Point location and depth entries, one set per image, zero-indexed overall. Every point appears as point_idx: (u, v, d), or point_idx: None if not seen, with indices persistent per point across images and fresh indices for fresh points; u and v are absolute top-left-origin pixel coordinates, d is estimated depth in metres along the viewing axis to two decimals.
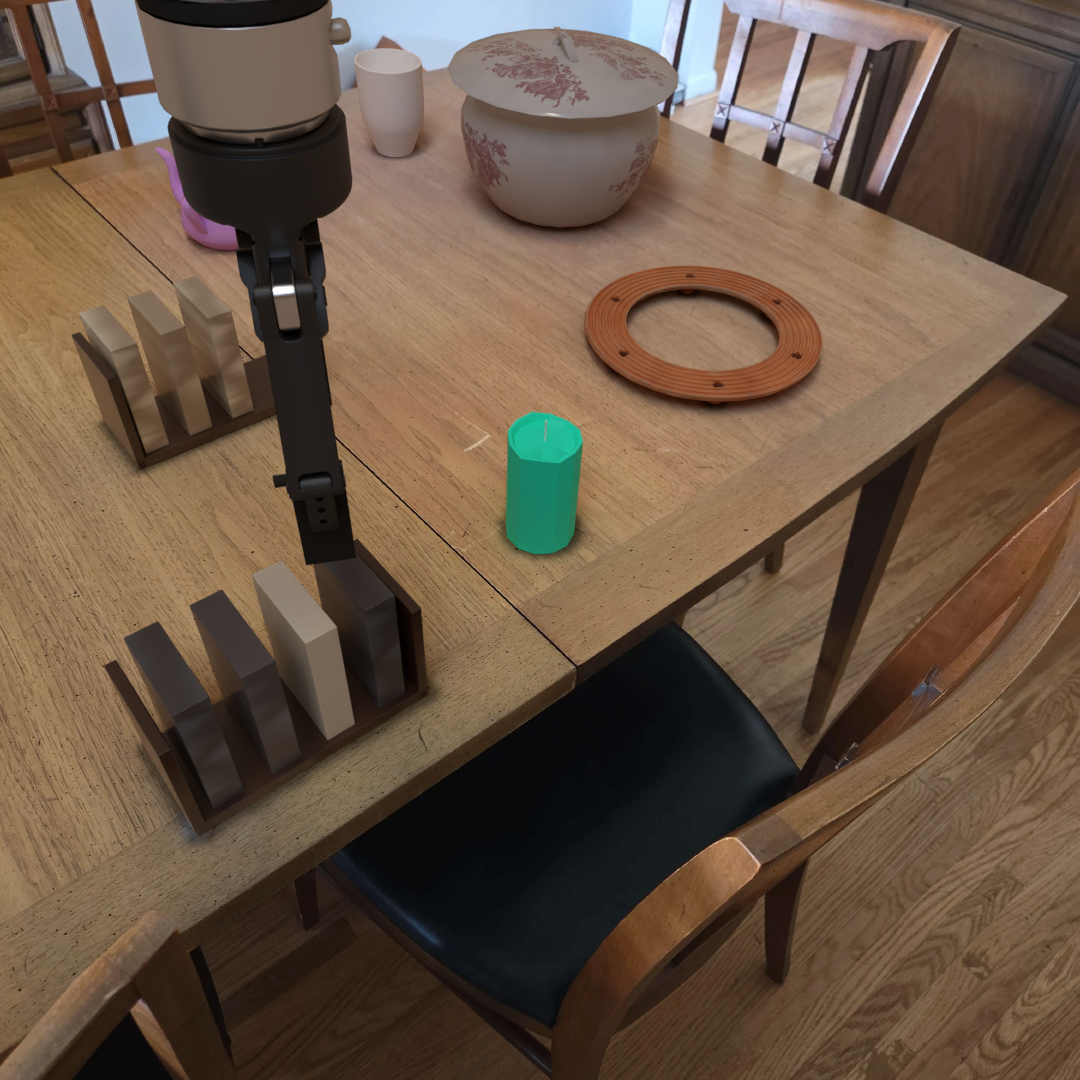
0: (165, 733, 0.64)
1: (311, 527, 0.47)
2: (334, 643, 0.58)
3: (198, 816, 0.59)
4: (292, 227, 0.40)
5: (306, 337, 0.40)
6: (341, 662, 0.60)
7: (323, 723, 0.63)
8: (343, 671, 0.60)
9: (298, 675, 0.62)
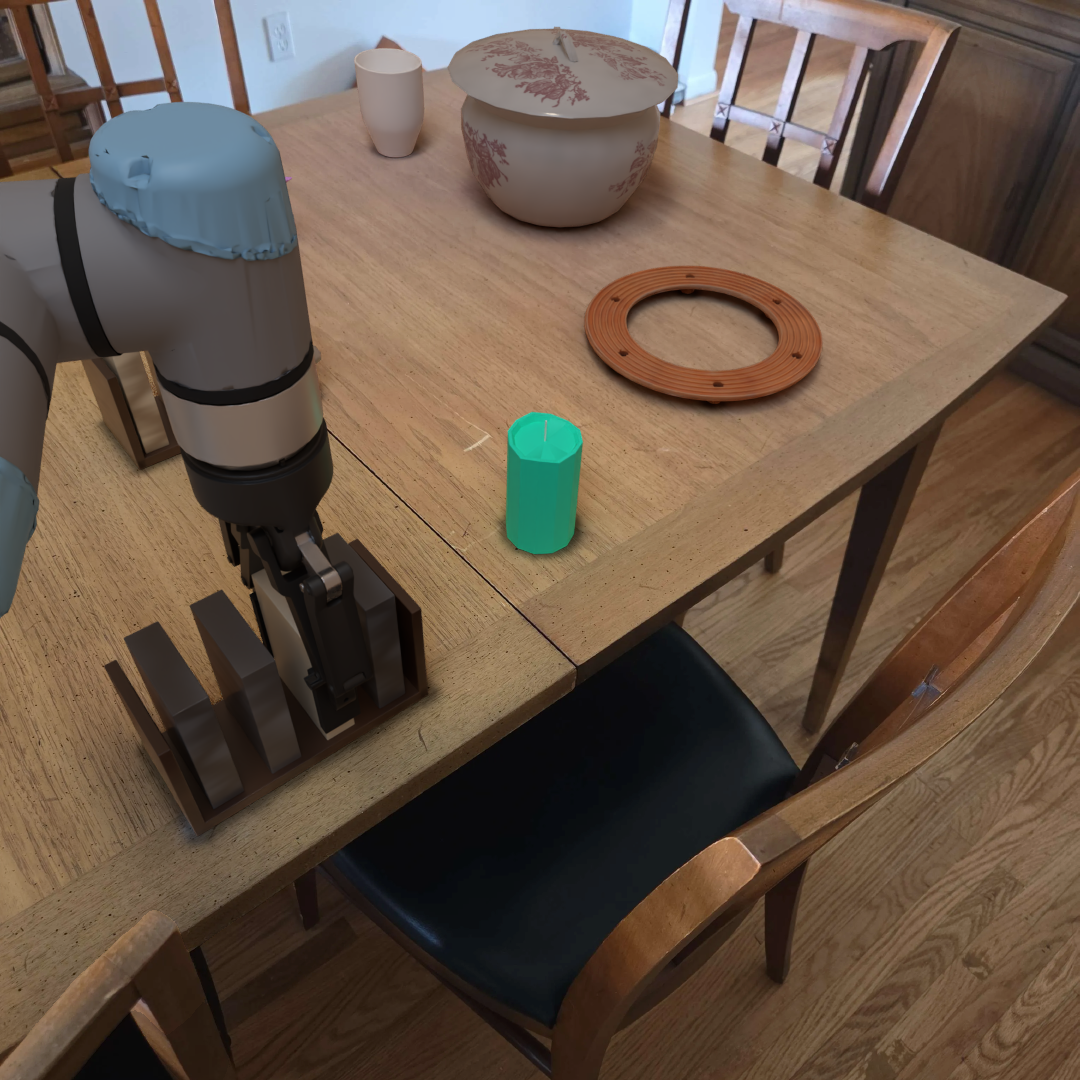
0: (165, 733, 0.64)
1: (337, 707, 0.59)
2: None
3: (198, 816, 0.59)
4: (310, 510, 0.49)
5: (344, 599, 0.51)
6: None
7: None
8: None
9: (298, 675, 0.62)
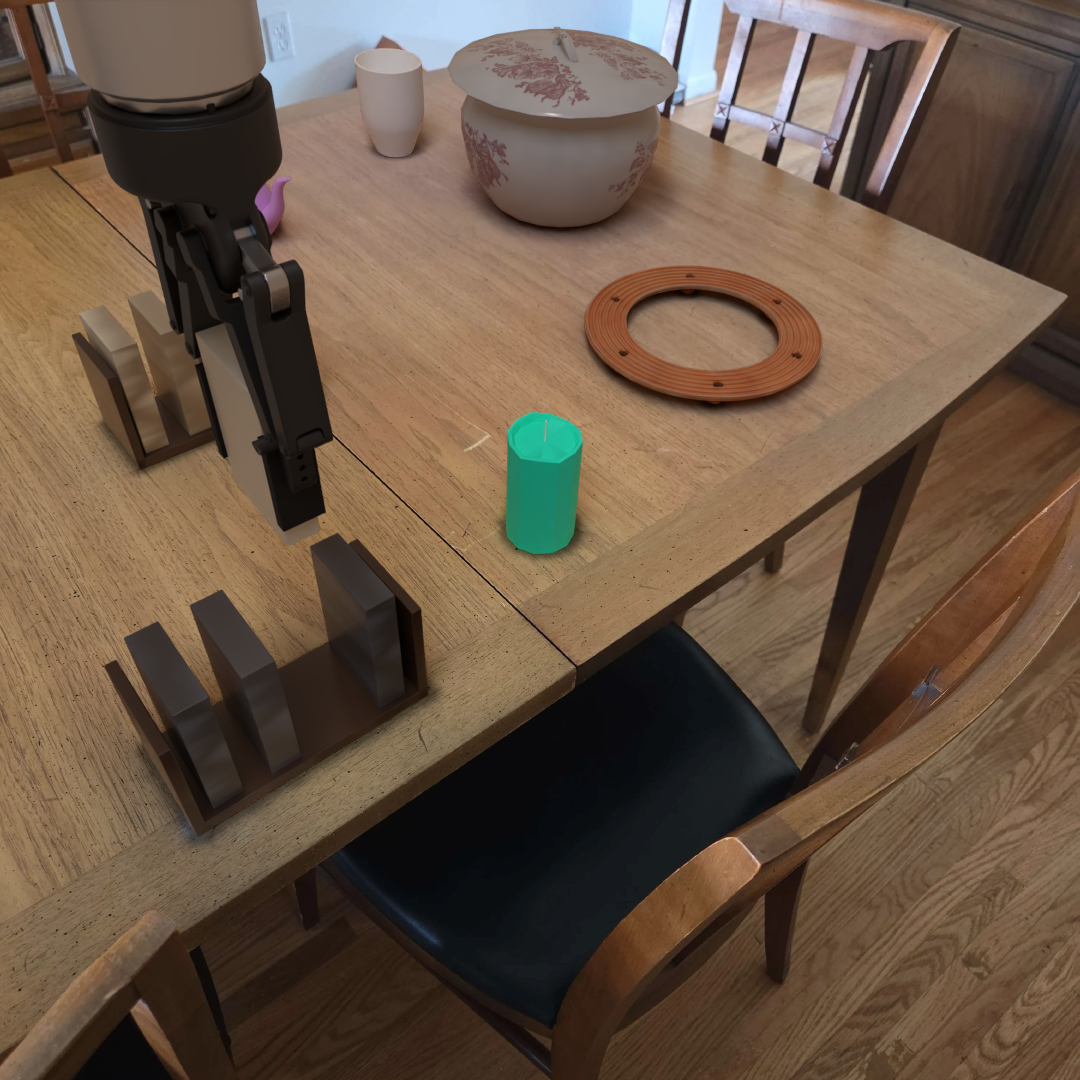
0: (165, 733, 0.64)
1: (294, 487, 0.49)
2: None
3: (198, 816, 0.59)
4: (250, 192, 0.40)
5: (294, 314, 0.42)
6: None
7: None
8: None
9: (252, 462, 0.53)
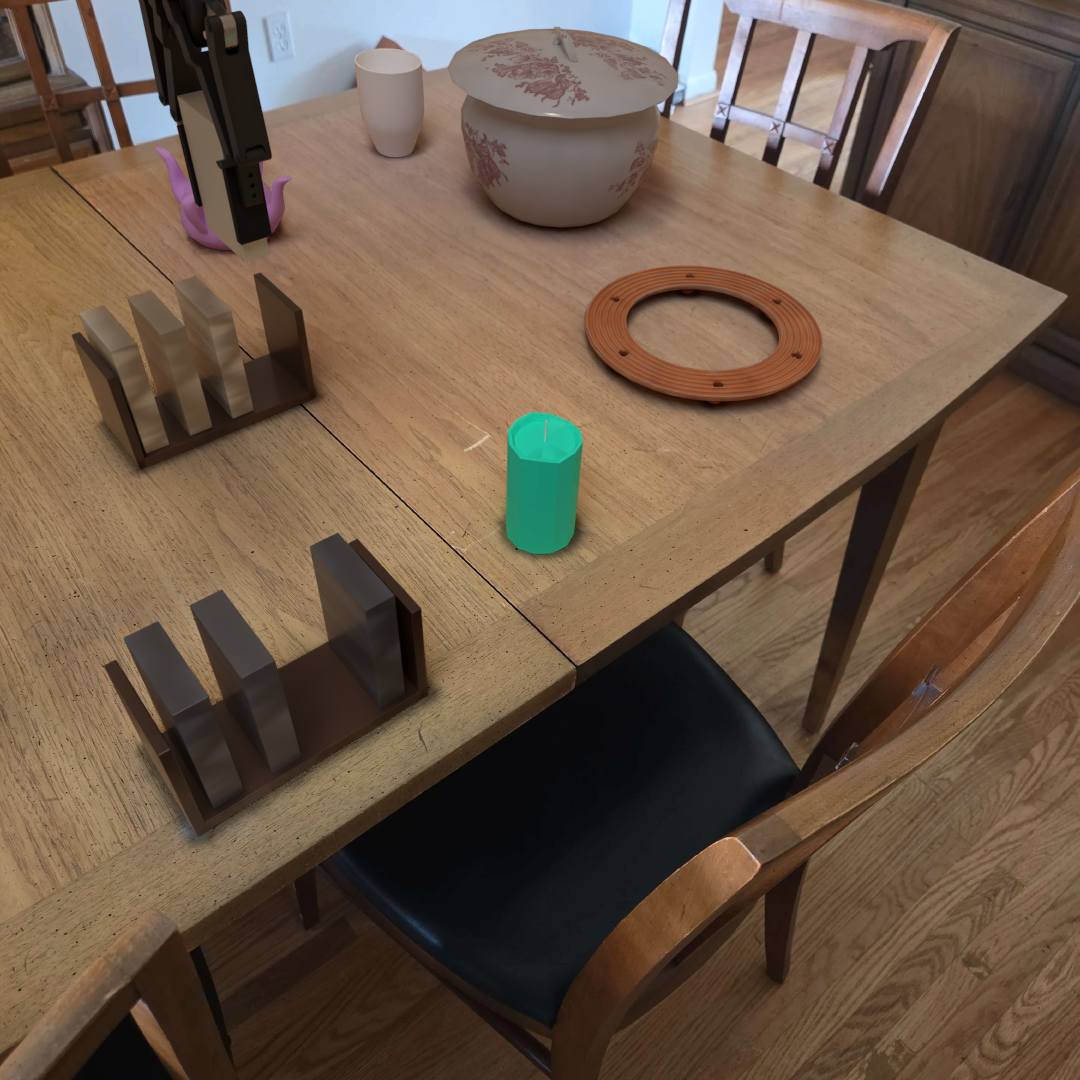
0: (165, 733, 0.64)
1: (247, 201, 0.71)
2: None
3: (198, 816, 0.59)
4: None
5: (241, 52, 0.63)
6: None
7: None
8: None
9: (218, 195, 0.74)
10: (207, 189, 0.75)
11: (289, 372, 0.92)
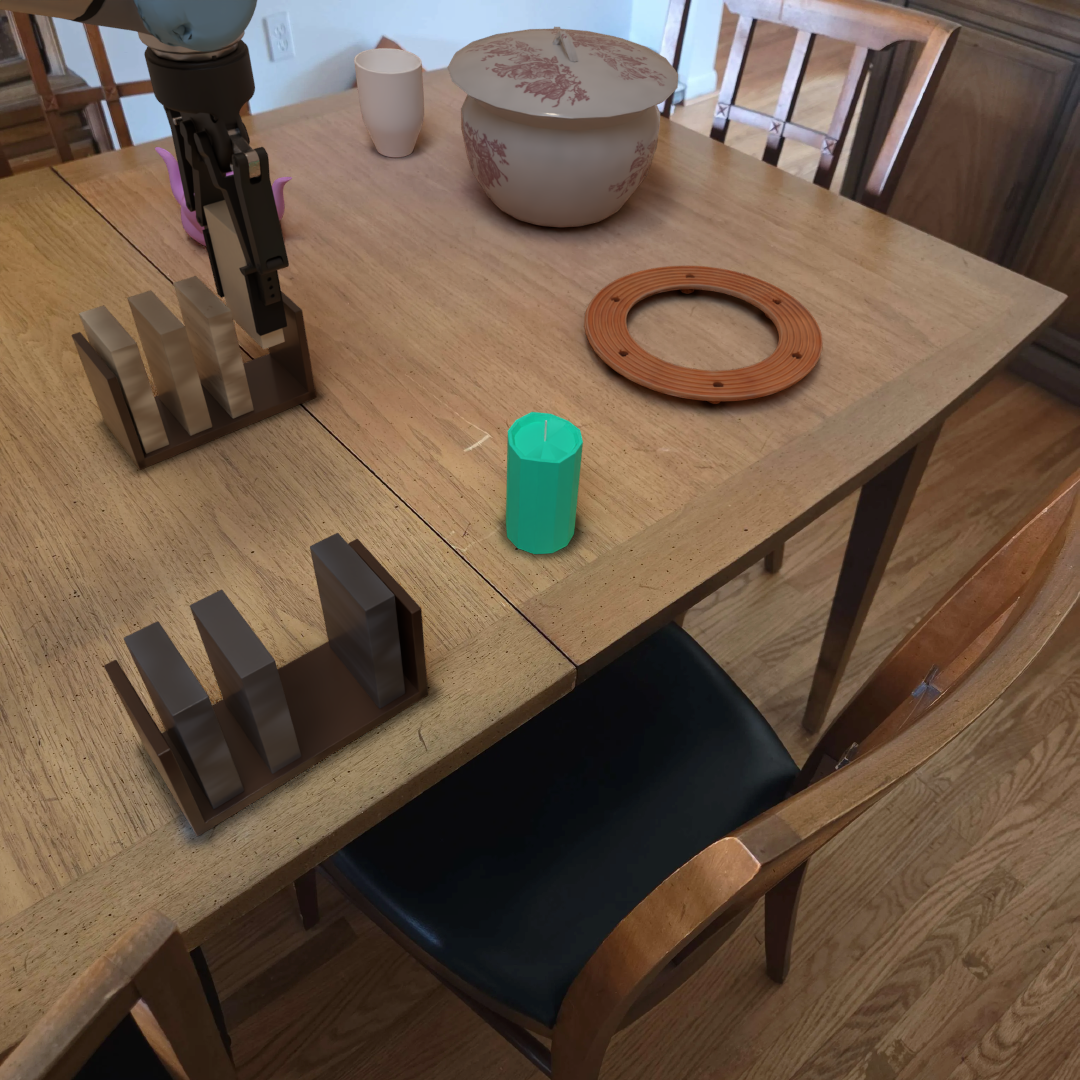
0: (165, 733, 0.64)
1: (266, 300, 0.80)
2: None
3: (198, 816, 0.59)
4: (236, 107, 0.70)
5: (263, 180, 0.72)
6: None
7: None
8: None
9: (240, 291, 0.83)
10: (229, 284, 0.84)
11: (289, 372, 0.92)
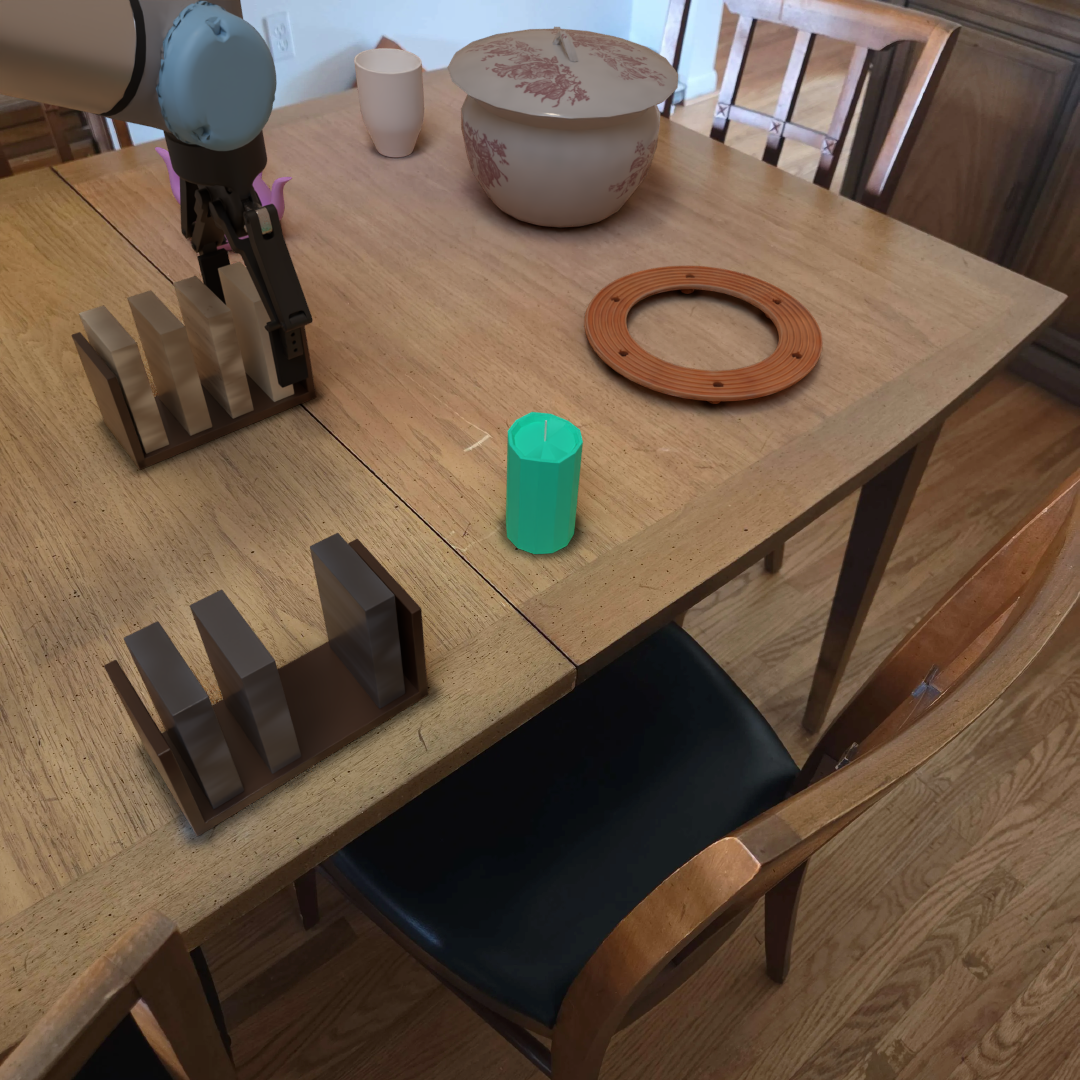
0: (165, 733, 0.64)
1: (289, 355, 0.81)
2: None
3: (198, 816, 0.59)
4: (250, 179, 0.74)
5: (276, 236, 0.75)
6: None
7: (270, 384, 0.88)
8: None
9: (252, 348, 0.87)
10: (241, 340, 0.89)
11: None
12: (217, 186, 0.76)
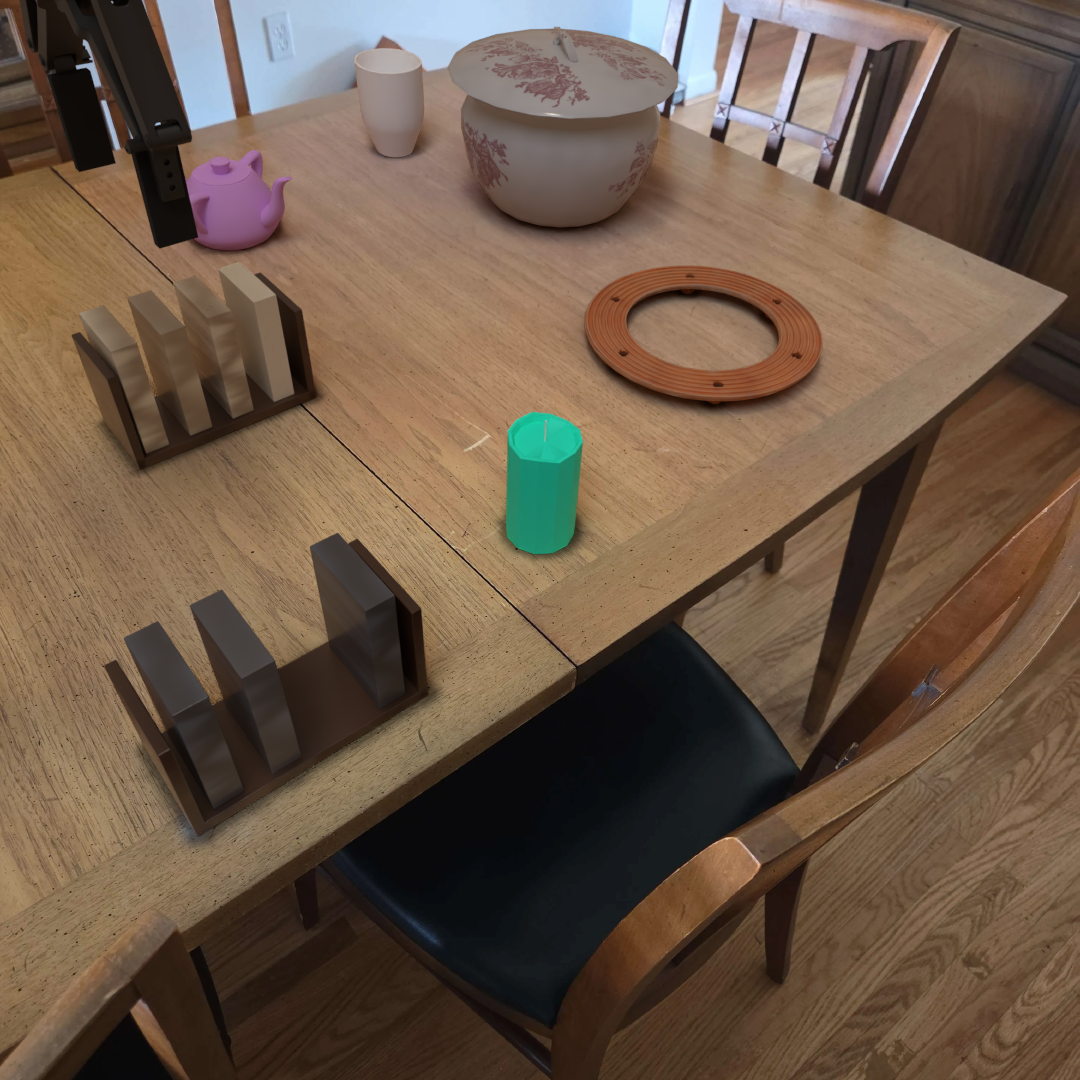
0: (165, 733, 0.64)
1: (163, 194, 0.58)
2: (274, 309, 0.83)
3: (198, 816, 0.59)
4: None
5: (132, 2, 0.52)
6: (281, 329, 0.85)
7: (270, 384, 0.88)
8: (283, 338, 0.86)
9: (252, 348, 0.87)
10: (241, 340, 0.89)
11: None
12: None
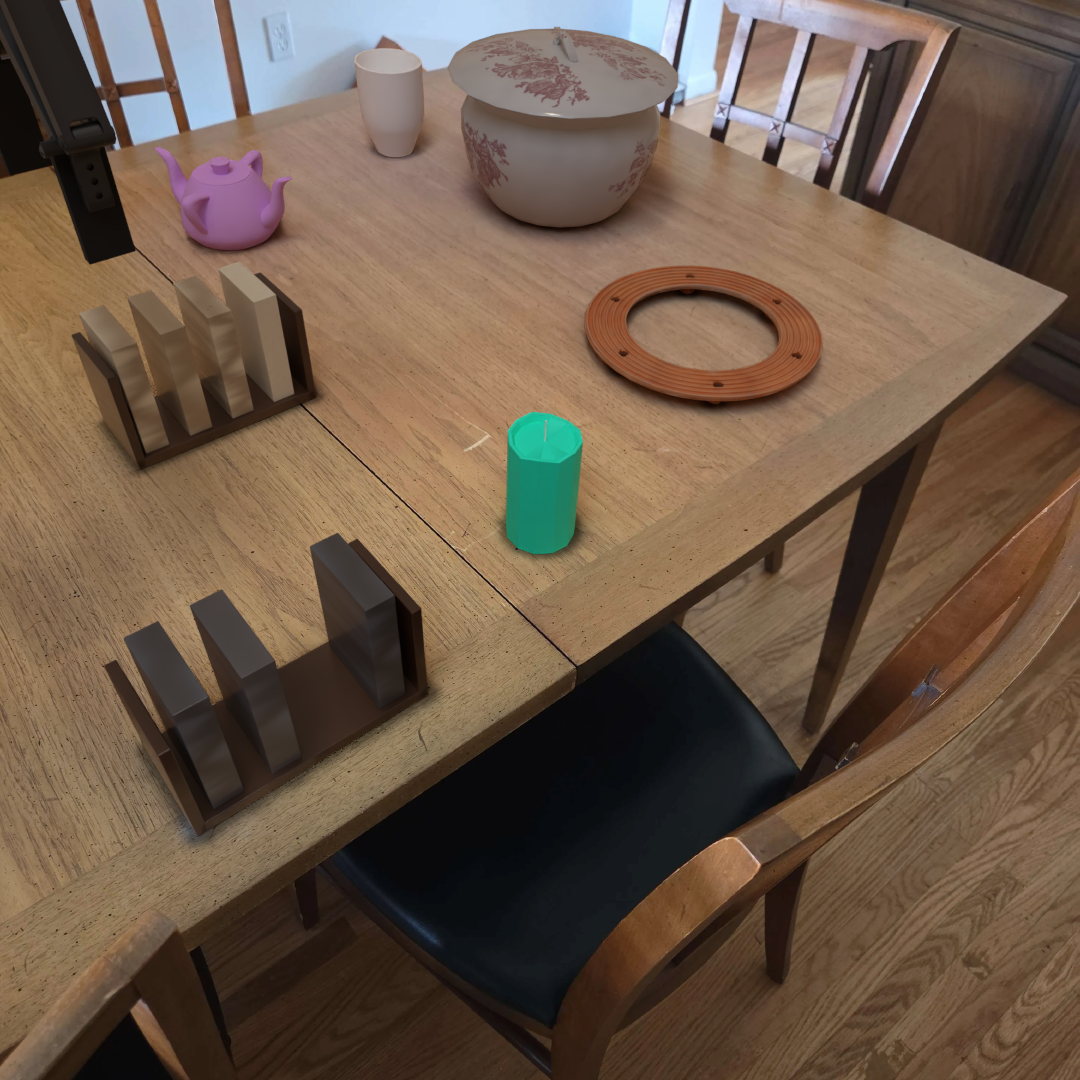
0: (165, 733, 0.64)
1: (89, 204, 0.50)
2: (274, 309, 0.83)
3: (198, 816, 0.59)
4: None
5: None
6: (281, 329, 0.85)
7: (270, 384, 0.88)
8: (283, 338, 0.86)
9: (252, 348, 0.87)
10: (241, 340, 0.89)
11: None
12: None
